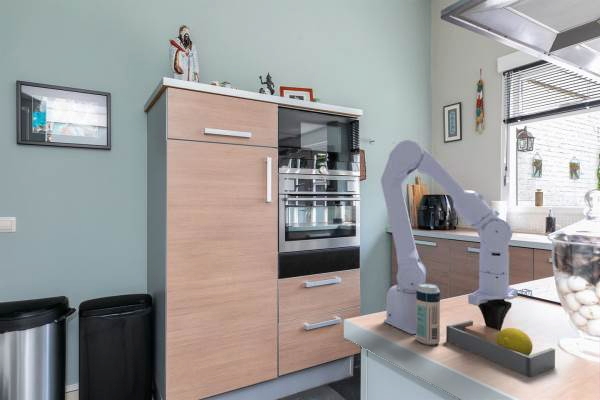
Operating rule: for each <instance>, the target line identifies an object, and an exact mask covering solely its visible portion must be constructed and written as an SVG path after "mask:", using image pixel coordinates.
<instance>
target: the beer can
mask: <svg viewBox="0 0 600 400" xmlns="http://www.w3.org/2000/svg"><path fill="white" fill-rule="evenodd" d="M440 321H441V290H440V289H439V287H438V285H436V284H432V283H425V284H418V287H417V289H416V334H415V339H416V340H417V341H418V342H419V343H420V344H422V345H427V346H435V345H438V344H439V343H440V339H441V337H440V335H441V333H440V331H441V329H440V328H441V325H440V324H441V322H440Z"/></svg>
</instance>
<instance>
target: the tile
mask: <svg viewBox="0 0 600 400" xmlns="http://www.w3.org/2000/svg"><path fill="white" fill-rule="evenodd" d="M464 332H467V333H469V334H472V335H474V336H477V337H480V338H482V339H485V340H488V341H490V342H493V343H495V344H497V340H496V339H497V335H498V333H499V332H500V331H499V330H496V329H493V328H490V327H487V326H486V325H484V324H482V323H477V324H473V325H471V326H467V327H464Z"/></svg>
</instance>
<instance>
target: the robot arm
mask: <svg viewBox="0 0 600 400" xmlns="http://www.w3.org/2000/svg"><path fill="white" fill-rule="evenodd" d="M388 155H389V156H388V159H387V162H386V165H385V167H384V170H383V173H382V176H381V179H380V182H381V188H382V192H383V196H384V201H385V206H386V209H387V215H388V220H389V224H390V228H391V231H392V232H391V233H392V237H393V243H394V247H395V250H396V261H397V268H398V270H397V273H396V282H397V284H395V285H393V286H391V287H390V288H389V289H388V291H387V294H386V318H385V319H383V322H384V323H385V324H388V325H390V326H392V327H394V328H397V329H399V330H401V331H404V332H405V333H407V334H409V335H416V289H417V287H418V284H426V282H427V280H426V278H427V277H426V276H427V268H426V266H425V264H423V262H422V261H421V259H420V256H419V252H418V250H417V245H416V242H415V238H414V233H413V229H412V228H413V227H412V225H411V220H410V215H409V211H408V206H407V202H406V198H405V194H404V189H403V184H404V182H405V181H406V179H407V178H408V176H409V175H410V174H411V173H413V172H414V171H416V170H417V172H418V173H421V174H423V175H428V176H429V177H431V178H432V179H433V180H434V181H435V183H437V184H438V185H439V186H440V187H441V188H442V189H443V190H444V191H445V192H446V193H447V194H448V195H449V196H450V197H451V198H452V199H453V203H452V204H453V206H452V207H453V209H454V210H455V211H456V212H457V213H458V214H459V215H460V216H461V218H462V219H464V220H465V221H466V223H468V224H469V226H471V228H472V229H476V231H477V236H479V237H480V238H481V239H480V248H479V253H478V254H479V256H478V257H479V258H478V259H479V263H478V264H479V266H478V267H479V268H478V269H479V272H478V274H479V275H478V277H479V278H478V279H479V280H478V281H479V282H478V289H476V291H474V292H472V293H470V294H468V296H467V298H468V300H467V304H470V305H473V306H477V307H478V309H479V311H480V312H481V315H482V317H483V320H484V323H485V325H484V326H487V327H490V328H493V329H496V330H499V331H501V330H502V328H503V324H504V320H505V319H506V315H507V314H508V312H509V310H510V309H511V308H512V302H510V301H507V300H513V299H516V298H518V288H514V287H509V286H510V284H509V283H510V252H509V246H510V245H509V242H510V241H511V239H512V237H513V231H512V230H511V226H510V225H509V223H508V222H507V221H505V219H502V218H499V217H498V216H499V215H500V212H498V210H493V209H492V208H491V206H489V204H488V203H487V202H486V201H485V200H484V198H485V196H484V195H483V194H482V193H480V192H479V193H477V192H476V191H474V190H465V188H463V187H462V185H460V183H459V182H458V181H457V180H456V179H455V178H454V177H453V176H452V174H451V173H450V172H449V171H448V170H447V169H446V168H445V167H444V166H443V165H442V164H441V163H440V161H439V160H437V158H435V157H434V155H432V154H431V153H430V152H429V151H427V150H426V149H425V148H423V149H422V148H421V146H420V144H419V143H418V142H416V141H415V140H411V139H405V140H402V141H399V143H398V144H396V145H395V147H393V149H392V150H391V151H390V153H389V154H388Z"/></svg>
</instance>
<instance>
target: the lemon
mask: <svg viewBox="0 0 600 400" xmlns="http://www.w3.org/2000/svg"><path fill="white" fill-rule="evenodd" d="M496 340H497V344H498V345H501V346H503V347H506V348H509V349H511V350H514V351H516V352H519V353H522V354H524V355H527V356H530V355H532V352H533V342H532V339H531V338H530V337H529V336H528V334H527V333H525V331H523V330H520V329H519V328H515V327H506V328H503V329H501V331H500V332H499V333H498V335H497V339H496Z"/></svg>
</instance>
